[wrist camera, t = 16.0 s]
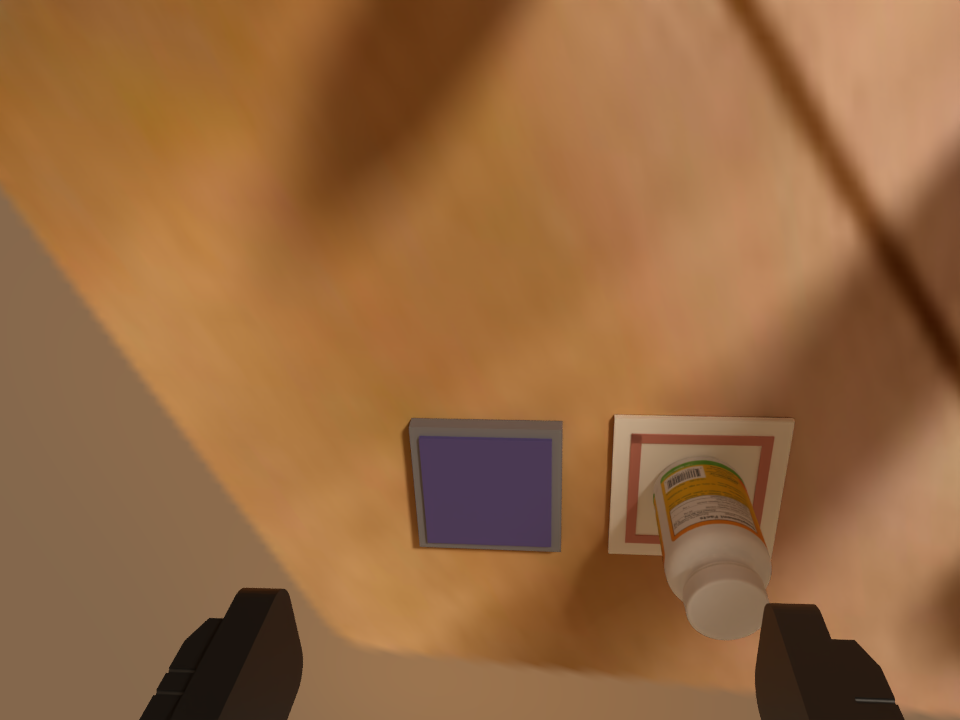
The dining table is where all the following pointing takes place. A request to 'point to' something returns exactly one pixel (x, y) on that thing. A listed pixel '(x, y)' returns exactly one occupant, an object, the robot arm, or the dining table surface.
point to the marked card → (669, 439)
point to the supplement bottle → (712, 547)
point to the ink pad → (488, 483)
